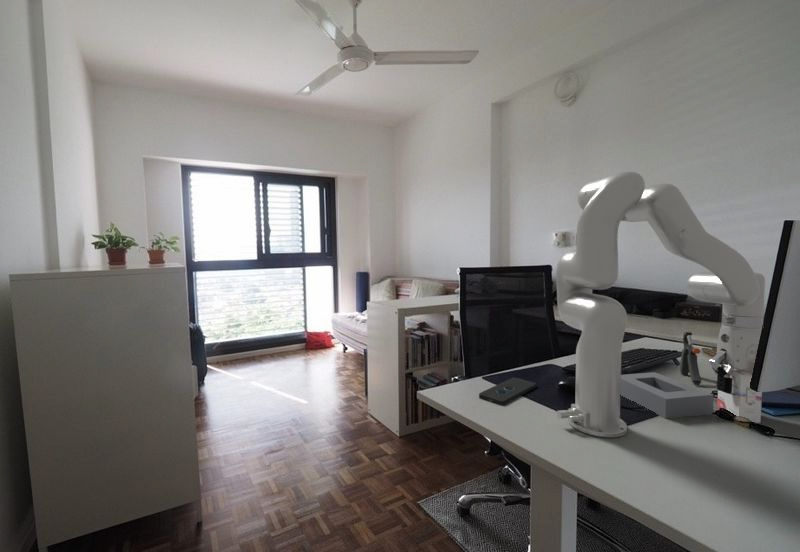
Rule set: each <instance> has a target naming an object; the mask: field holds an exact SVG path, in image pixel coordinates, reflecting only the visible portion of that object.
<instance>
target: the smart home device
mask: <svg viewBox="0 0 800 552" xmlns="http://www.w3.org/2000/svg"><path fill="white" fill-rule="evenodd" d="M535 388H537V382H533V381H531V380H525V379H523V378H519V377H511V378H509V379H507V380H505V381H502V382H501V383H498V384H496V385H494V386H492V387H490V388H488V389H486V390H484V391H481V392H479V394H478V396H479V397H478V399H480V400H481V399H482V400H484V401H487V402H490V403H493V404H497V405H499V406H505V405H506V404H508V403H510V402H512V401H514V400H516V399H517V398H519V397H521V396H523V395H525V394H526V393H529V392H531V391H532V390H535Z"/></svg>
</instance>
